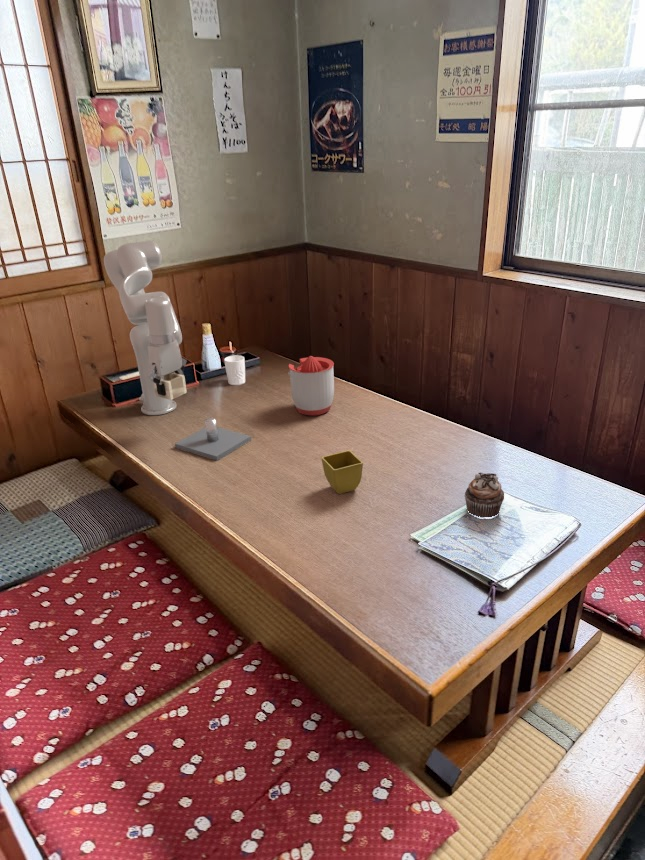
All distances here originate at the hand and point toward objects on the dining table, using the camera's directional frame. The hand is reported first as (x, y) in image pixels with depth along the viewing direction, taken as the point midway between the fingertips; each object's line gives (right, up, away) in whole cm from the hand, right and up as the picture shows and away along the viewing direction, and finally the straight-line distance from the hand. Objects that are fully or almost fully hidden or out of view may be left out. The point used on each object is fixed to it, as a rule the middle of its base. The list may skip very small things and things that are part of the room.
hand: (170, 390), depth 205 cm
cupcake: (+90, -34, -44) cm, 106 cm away
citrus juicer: (+45, -6, +20) cm, 50 cm away
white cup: (+15, +6, +47) cm, 50 cm away
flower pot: (+55, -29, -31) cm, 69 cm away
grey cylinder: (+14, -16, -3) cm, 22 cm away
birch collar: (0, -1, +1) cm, 1 cm away
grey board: (+14, -17, -2) cm, 23 cm away
